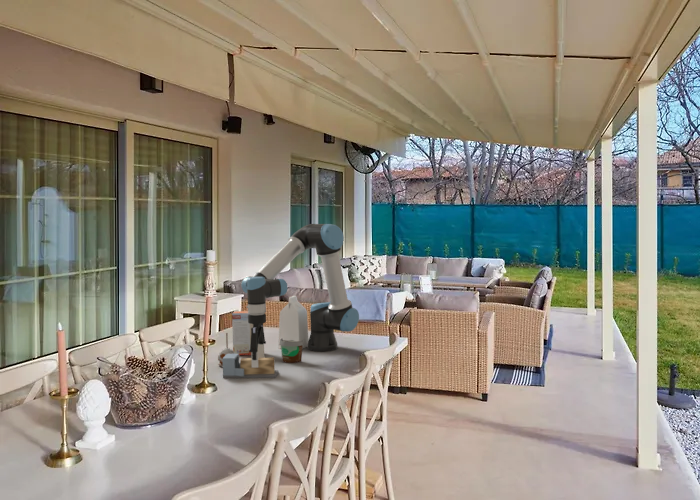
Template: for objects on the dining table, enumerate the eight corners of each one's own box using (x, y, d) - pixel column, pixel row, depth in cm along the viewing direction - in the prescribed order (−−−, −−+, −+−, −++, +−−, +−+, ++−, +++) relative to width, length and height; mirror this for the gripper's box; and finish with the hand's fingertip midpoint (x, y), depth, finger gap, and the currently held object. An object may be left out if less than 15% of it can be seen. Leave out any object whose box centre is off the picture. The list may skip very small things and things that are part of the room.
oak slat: (274, 371, 262) (274, 357, 262) (274, 373, 258) (273, 359, 258) (241, 372, 261) (241, 358, 261) (240, 374, 257) (240, 360, 257)
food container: (274, 362, 282) (273, 340, 282) (281, 359, 288) (281, 338, 287) (296, 364, 277) (296, 343, 276) (304, 361, 282) (303, 340, 281)
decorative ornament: (217, 368, 272) (216, 334, 271) (220, 363, 280) (219, 331, 279) (235, 367, 273) (234, 334, 272) (237, 363, 281) (236, 331, 280)
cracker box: (264, 353, 300) (263, 310, 299) (261, 355, 294) (260, 312, 293) (236, 352, 302) (235, 310, 300) (232, 355, 296) (231, 312, 294)
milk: (288, 343, 321) (287, 294, 319) (308, 345, 317) (308, 295, 315) (278, 348, 310) (277, 297, 308) (299, 350, 306) (298, 298, 304)
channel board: (278, 371, 265) (278, 352, 264) (274, 378, 254) (274, 359, 253) (228, 371, 266) (228, 352, 265) (222, 378, 255) (221, 359, 254)
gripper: (253, 308, 271) (255, 356, 272) (241, 319, 246) (243, 371, 247) (270, 308, 270) (271, 355, 272) (260, 318, 245) (261, 370, 247)
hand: (258, 363), depth 260 cm, fingers open, 13 cm apart
